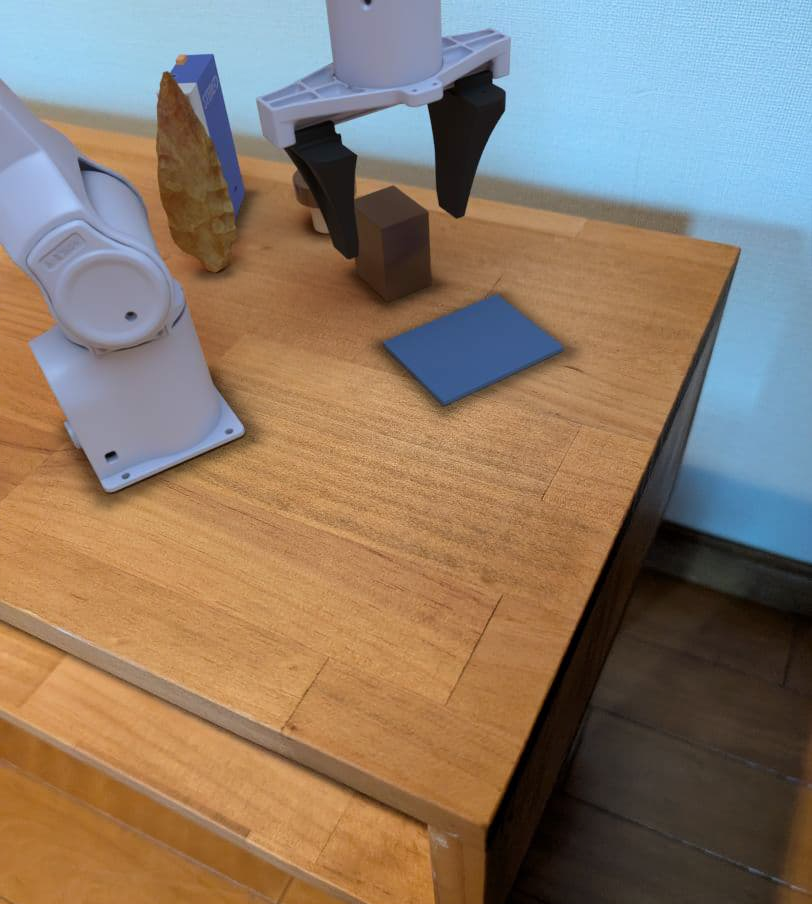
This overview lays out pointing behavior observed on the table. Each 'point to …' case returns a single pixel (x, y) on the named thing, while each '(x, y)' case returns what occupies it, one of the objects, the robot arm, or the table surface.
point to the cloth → (471, 348)
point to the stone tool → (192, 181)
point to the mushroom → (311, 201)
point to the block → (393, 243)
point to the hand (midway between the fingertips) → (400, 230)
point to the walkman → (211, 115)
